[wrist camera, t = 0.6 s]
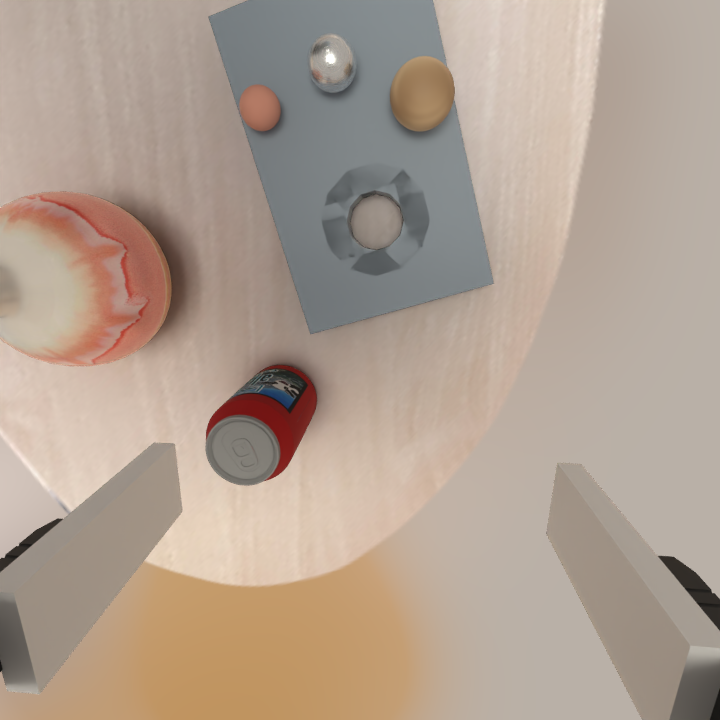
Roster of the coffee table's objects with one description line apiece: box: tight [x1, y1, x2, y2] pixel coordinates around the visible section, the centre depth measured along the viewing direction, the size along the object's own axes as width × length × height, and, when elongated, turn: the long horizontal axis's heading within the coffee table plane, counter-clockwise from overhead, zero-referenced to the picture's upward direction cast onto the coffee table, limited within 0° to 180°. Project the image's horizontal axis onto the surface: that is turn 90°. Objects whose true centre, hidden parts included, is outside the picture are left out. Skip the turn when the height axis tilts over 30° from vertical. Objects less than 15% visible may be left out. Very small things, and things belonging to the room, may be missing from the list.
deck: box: [209, 0, 494, 334], centre depth 35 cm, size 25×16×2 cm, turn 16°
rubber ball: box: [239, 84, 281, 131], centre depth 32 cm, size 3×3×3 cm
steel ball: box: [307, 33, 357, 93], centre depth 30 cm, size 4×4×4 cm
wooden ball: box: [390, 56, 455, 131], centre depth 30 cm, size 4×4×4 cm
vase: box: [0, 191, 172, 366], centre depth 32 cm, size 14×14×18 cm
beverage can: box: [206, 365, 317, 485], centre depth 36 cm, size 7×7×12 cm
